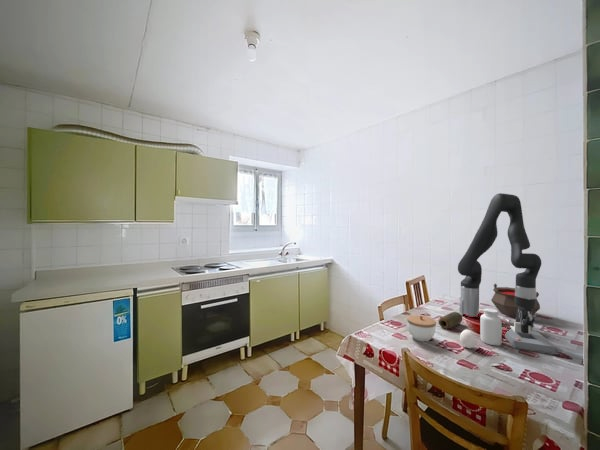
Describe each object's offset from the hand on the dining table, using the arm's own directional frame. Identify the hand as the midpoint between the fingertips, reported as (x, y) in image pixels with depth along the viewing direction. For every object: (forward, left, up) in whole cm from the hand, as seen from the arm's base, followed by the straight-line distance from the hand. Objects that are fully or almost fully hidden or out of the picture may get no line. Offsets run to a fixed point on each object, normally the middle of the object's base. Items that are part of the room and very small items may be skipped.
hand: (524, 332), depth 118 cm
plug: (+5, +15, -4) cm, 16 cm away
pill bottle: (-15, -6, -4) cm, 17 cm away
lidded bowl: (-45, -14, -4) cm, 47 cm away
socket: (0, -1, -4) cm, 4 cm away
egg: (-26, -16, -4) cm, 31 cm away
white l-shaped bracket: (0, +5, -1) cm, 6 cm away
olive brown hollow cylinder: (-29, +8, -5) cm, 30 cm away
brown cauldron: (+10, +42, -5) cm, 43 cm away
